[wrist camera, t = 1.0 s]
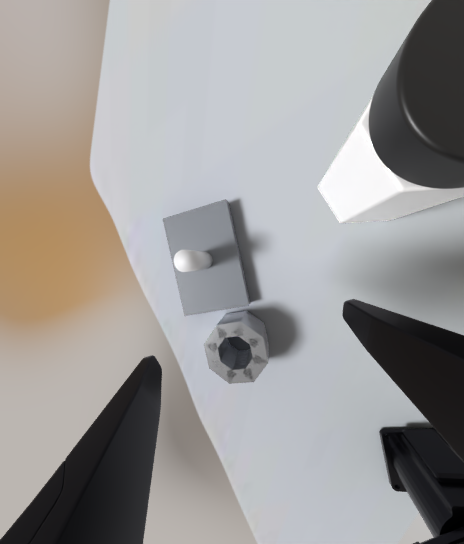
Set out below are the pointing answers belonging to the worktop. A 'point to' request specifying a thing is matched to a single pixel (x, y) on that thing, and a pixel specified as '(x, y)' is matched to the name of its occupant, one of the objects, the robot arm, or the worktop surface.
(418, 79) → the jar
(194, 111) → the worktop surface
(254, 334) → the hub ring
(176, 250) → the block
